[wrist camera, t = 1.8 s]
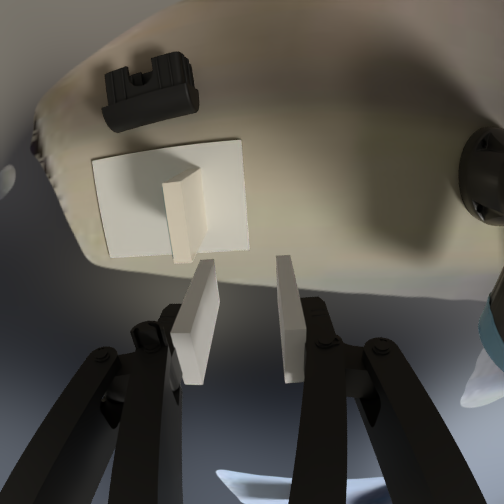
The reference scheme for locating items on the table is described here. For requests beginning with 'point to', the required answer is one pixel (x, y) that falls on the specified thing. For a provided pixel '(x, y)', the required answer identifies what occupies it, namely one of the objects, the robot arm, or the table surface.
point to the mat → (152, 203)
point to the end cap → (150, 93)
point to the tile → (185, 214)
